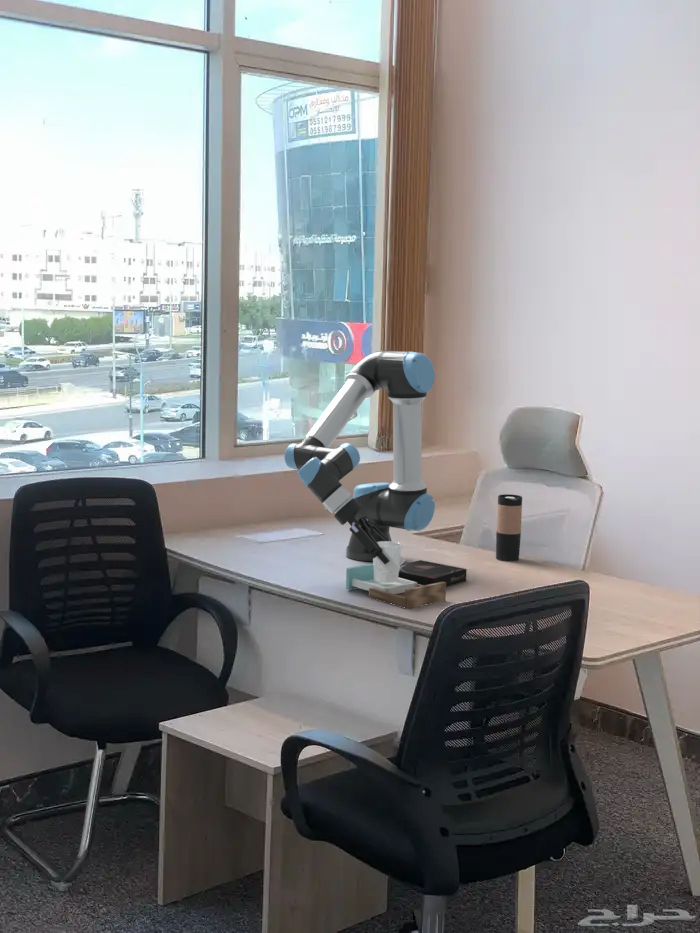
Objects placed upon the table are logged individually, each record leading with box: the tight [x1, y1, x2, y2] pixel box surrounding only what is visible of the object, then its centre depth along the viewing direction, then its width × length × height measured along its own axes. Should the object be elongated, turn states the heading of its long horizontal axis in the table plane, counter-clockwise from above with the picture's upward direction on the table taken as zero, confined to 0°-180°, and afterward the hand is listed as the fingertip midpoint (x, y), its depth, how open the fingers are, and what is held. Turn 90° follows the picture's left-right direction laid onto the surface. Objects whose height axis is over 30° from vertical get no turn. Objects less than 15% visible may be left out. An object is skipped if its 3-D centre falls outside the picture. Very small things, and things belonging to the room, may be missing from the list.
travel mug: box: [495, 493, 523, 562], centre depth 366 cm, size 8×8×20 cm
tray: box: [345, 562, 417, 594], centre depth 321 cm, size 14×15×6 cm
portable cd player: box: [399, 559, 467, 588], centre depth 335 cm, size 16×17×4 cm
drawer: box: [368, 582, 447, 610], centre depth 314 cm, size 14×15×5 cm
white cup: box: [372, 541, 402, 583], centre depth 319 cm, size 8×8×10 cm
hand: (398, 567), depth 318 cm, fingers closed on white cup, 8 cm apart
